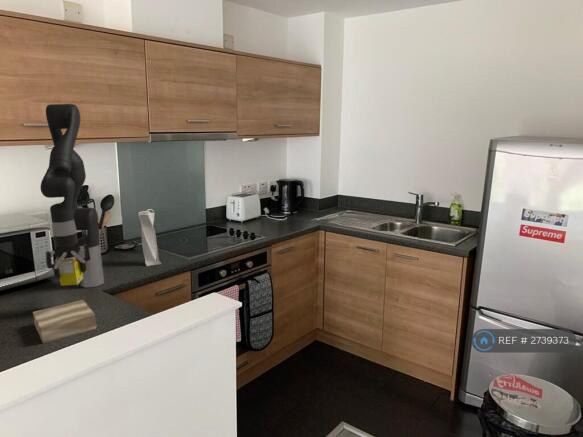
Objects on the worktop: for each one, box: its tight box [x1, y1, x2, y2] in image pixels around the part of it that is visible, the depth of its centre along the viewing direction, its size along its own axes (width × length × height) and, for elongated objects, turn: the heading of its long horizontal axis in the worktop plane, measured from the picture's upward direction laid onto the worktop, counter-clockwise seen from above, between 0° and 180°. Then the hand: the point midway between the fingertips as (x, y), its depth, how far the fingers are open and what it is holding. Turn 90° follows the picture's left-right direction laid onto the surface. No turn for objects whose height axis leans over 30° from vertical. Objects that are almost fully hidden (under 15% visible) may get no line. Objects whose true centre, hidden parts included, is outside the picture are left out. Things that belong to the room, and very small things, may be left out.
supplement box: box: [57, 254, 83, 288], centre depth 160 cm, size 6×6×11 cm
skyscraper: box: [138, 208, 162, 267], centre depth 210 cm, size 8×8×28 cm
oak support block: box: [32, 299, 98, 344], centre depth 148 cm, size 16×16×5 cm
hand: (70, 275), depth 160 cm, fingers closed on supplement box, 8 cm apart
